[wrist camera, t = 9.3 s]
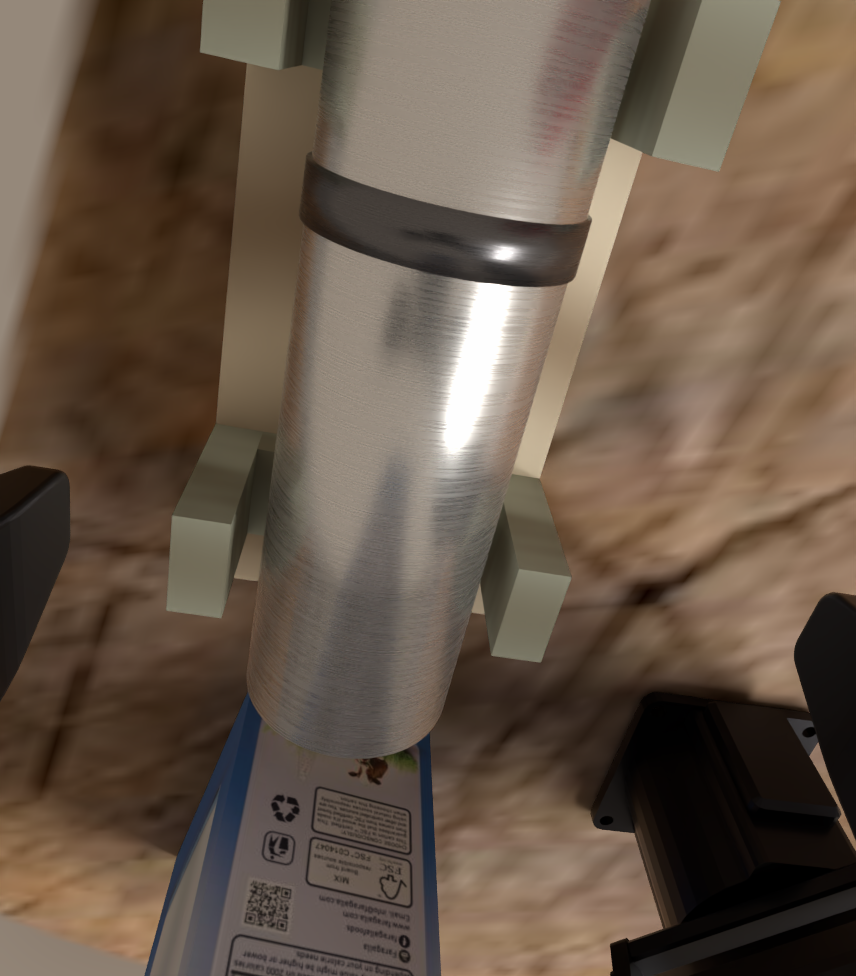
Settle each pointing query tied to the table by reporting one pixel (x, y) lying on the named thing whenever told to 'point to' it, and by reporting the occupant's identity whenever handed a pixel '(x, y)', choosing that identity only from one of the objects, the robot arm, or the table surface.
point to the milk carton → (304, 865)
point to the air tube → (420, 341)
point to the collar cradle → (274, 264)
